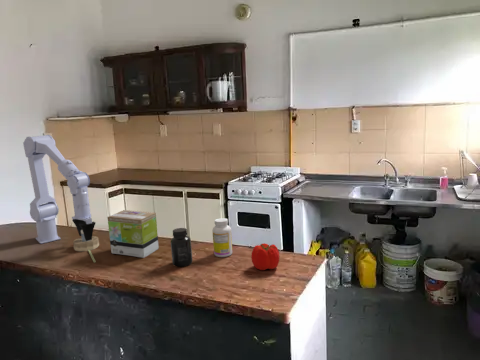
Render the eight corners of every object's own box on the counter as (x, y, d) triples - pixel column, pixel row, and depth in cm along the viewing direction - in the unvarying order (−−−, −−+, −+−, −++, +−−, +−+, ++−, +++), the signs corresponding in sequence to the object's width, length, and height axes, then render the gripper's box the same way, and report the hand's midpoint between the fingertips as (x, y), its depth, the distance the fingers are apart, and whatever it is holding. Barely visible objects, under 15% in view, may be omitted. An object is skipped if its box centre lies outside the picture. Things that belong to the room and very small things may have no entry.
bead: (71, 247, 162) (70, 239, 161) (94, 241, 167) (93, 234, 166) (78, 253, 155) (77, 245, 154) (102, 247, 160) (101, 239, 159)
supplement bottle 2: (221, 249, 151) (219, 216, 148) (236, 252, 147) (234, 218, 145) (210, 255, 145) (207, 221, 143) (225, 259, 142) (223, 223, 139)
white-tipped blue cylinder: (89, 245, 163) (87, 228, 162) (92, 247, 161) (90, 230, 159) (81, 247, 161) (79, 230, 160) (84, 249, 159) (82, 231, 157)
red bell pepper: (247, 267, 133) (245, 245, 132) (267, 260, 139) (266, 239, 137) (265, 276, 126) (264, 253, 125) (286, 268, 131) (285, 246, 130)
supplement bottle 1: (195, 260, 141) (193, 227, 139) (187, 268, 135) (184, 233, 133) (178, 258, 144) (175, 226, 142) (168, 266, 137) (165, 232, 135)
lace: (88, 251, 156) (87, 250, 156) (89, 250, 157) (89, 249, 156) (93, 262, 144) (93, 261, 144) (95, 262, 144) (95, 261, 144)
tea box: (110, 254, 151) (106, 216, 149) (127, 245, 161) (123, 209, 158) (144, 258, 146) (140, 218, 143) (159, 249, 155) (156, 211, 152)
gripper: (65, 203, 161) (69, 236, 163) (76, 209, 150) (81, 244, 152) (83, 199, 165) (87, 232, 168) (95, 205, 154) (99, 240, 156)
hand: (85, 237), depth 160 cm, fingers open, 7 cm apart
